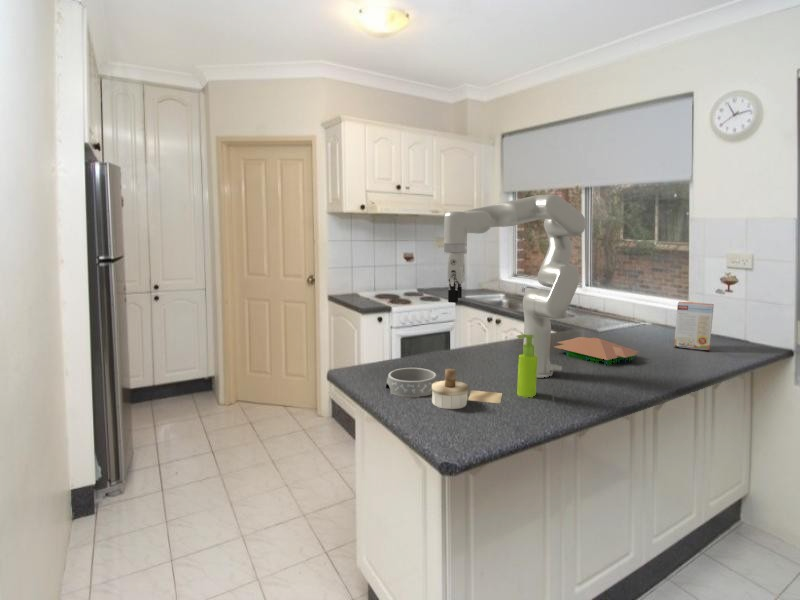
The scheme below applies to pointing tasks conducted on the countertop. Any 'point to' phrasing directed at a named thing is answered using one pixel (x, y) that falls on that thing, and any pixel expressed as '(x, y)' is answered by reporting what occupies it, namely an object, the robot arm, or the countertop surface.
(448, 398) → the bowl
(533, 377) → the soap dispenser
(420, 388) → the dog bowl
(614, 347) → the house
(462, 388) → the lid
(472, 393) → the mat
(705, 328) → the cracker box
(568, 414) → the countertop surface
